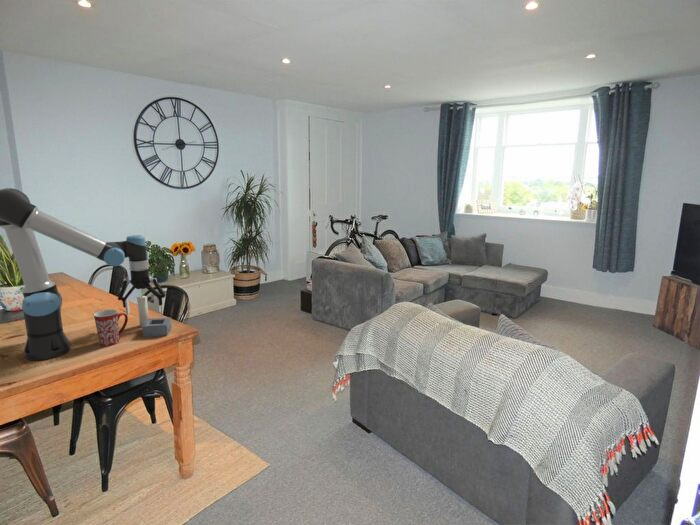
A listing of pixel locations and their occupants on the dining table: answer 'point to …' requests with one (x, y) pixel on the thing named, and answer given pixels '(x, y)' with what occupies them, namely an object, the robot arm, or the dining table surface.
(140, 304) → the candle
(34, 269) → the robot arm
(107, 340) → the mug
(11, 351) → the dining table surface
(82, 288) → the dining table surface
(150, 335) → the holder
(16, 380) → the dining table surface
